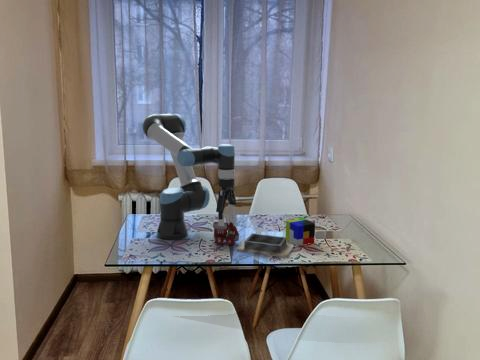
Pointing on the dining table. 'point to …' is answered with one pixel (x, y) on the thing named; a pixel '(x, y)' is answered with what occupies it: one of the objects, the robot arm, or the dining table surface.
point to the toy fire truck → (225, 233)
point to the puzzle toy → (300, 231)
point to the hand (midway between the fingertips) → (226, 221)
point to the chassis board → (266, 245)
